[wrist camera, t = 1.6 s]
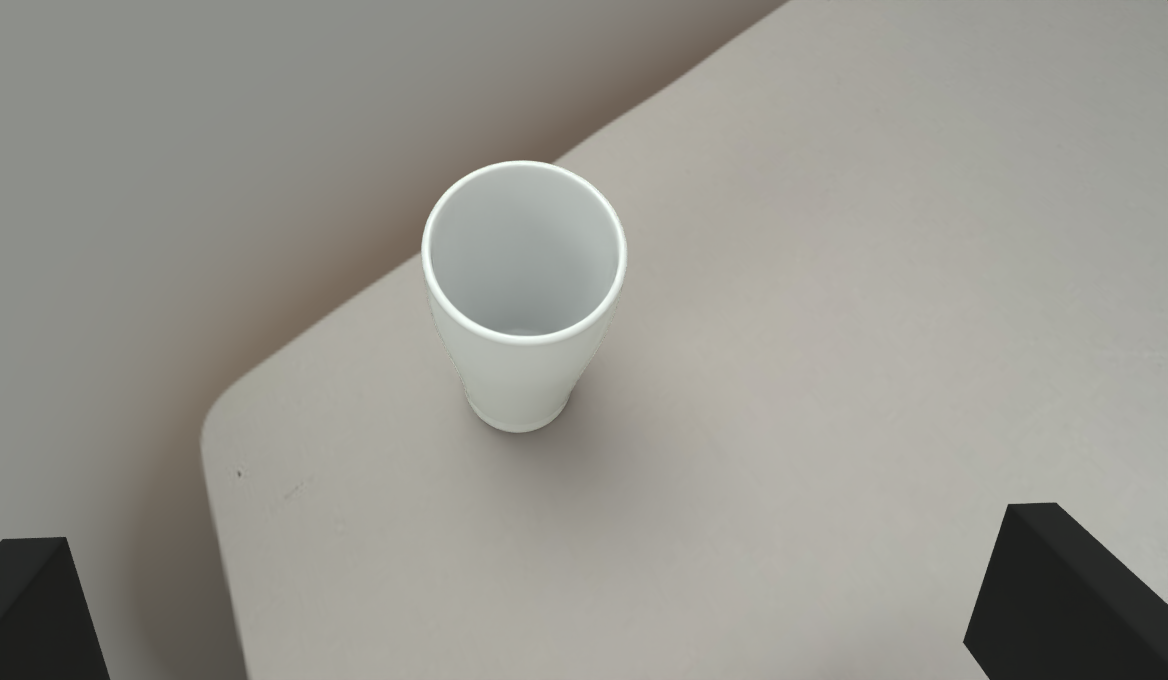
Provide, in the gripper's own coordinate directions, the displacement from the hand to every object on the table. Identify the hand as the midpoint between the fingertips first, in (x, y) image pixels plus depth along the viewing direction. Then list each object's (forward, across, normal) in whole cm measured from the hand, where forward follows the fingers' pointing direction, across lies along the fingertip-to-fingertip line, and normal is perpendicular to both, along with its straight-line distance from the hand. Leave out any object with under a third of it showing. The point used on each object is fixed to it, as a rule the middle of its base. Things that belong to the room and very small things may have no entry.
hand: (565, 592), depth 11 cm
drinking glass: (+26, 0, -10) cm, 28 cm away
